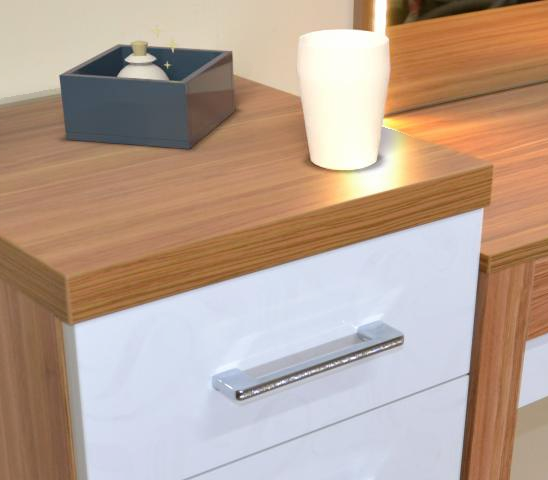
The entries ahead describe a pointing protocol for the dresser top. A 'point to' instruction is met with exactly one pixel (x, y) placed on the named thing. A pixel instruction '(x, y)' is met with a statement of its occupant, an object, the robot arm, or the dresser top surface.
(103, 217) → the dresser top surface
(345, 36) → the cup
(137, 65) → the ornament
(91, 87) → the dark blue open box
